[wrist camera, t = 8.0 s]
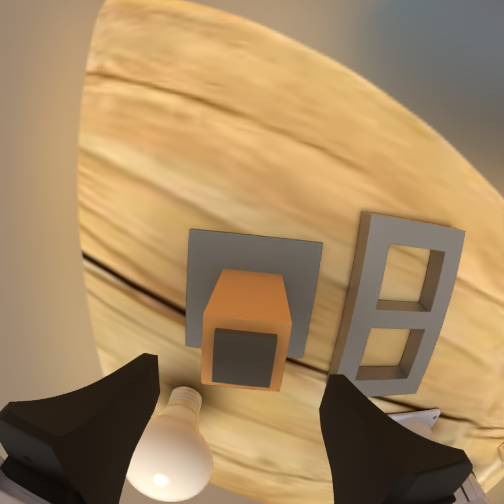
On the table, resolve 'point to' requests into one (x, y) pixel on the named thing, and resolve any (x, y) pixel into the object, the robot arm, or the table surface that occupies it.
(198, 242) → the mat
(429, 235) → the grey flat frame
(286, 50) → the table surface
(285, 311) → the plug
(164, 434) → the lightbulb
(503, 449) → the coffeecake box
